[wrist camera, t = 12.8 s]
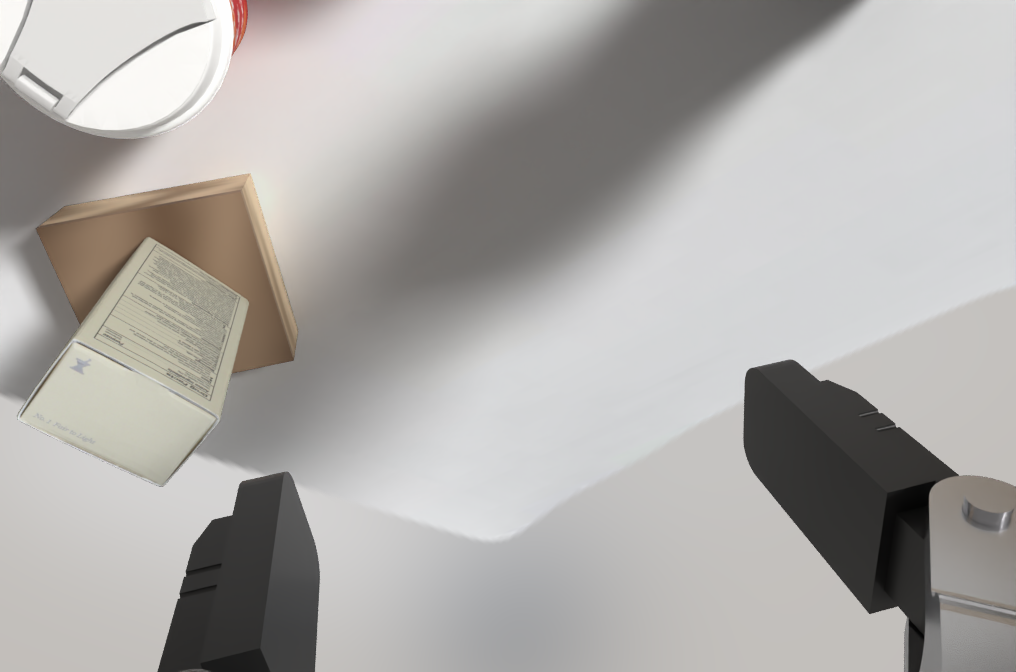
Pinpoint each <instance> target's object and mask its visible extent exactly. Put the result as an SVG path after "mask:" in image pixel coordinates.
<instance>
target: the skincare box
mask: <svg viewBox="0 0 1016 672" xmlns="http://www.w3.org/2000/svg"><path fill="white" fill-rule="evenodd" d="M248 306H249V302H248V300H247V299H246V298H244V297H243V296H241V295H240V294H238V293H237V292H235V291H234V290H232V289H231V288H229V287H228V286H226V285H225V284H223V283H222V282H220V281H219V280H217V279H216V278H214V277H213V276H211V275H209V274H208V273H206V272H205V271H203V270H202V269H200V268H199V267H197V266H195V265H194V264H192V263H191V262H189V261H188V260H186V259H185V258H183V257H181V256H180V255H178V254H177V253H175V252H174V251H172V250H170V249H169V248H167V247H165V246H164V245H162V244H160V243H159V242H157V241H155V240H154V239H152V238H150V237H147V238H145V239H144V241H143V242H142V243H141V244H140V246H139V247H138V248H137V249H136V251H135V252H134V253H133V255H132V256H131V257H130V258H129V260H128V261H127V262H126V264H125V265H124V266H123V268H122V269H121V270H120V272H119V273H118V274H117V276H116V277H115V278H114V280H113V281H112V282H111V284H110V285H109V286H108V288H107V289H106V290H105V292H104V293H103V295H102V296H101V297H100V299H99V300H98V302H97V303H96V304H95V306H94V307H93V308H92V310H91V311H90V312H89V314H88V315H87V316H86V318H85V319H84V320H83V322H82V323H81V325H80V326H79V327H78V329H77V330H76V332H75V333H74V334H73V336H72V337H71V338H70V340H69V341H68V343H67V344H66V345H65V347H64V348H63V350H62V351H61V352H60V354H59V355H58V357H57V358H56V359H55V361H54V362H53V364H52V365H51V366H50V368H49V369H48V371H47V372H46V373H45V375H44V376H43V378H42V379H41V380H40V382H39V383H38V385H37V386H36V387H35V389H34V390H33V392H32V393H31V395H30V396H29V398H28V399H27V401H26V402H25V404H24V405H23V407H22V408H21V410H20V411H19V413H18V415H17V419H18V420H19V421H21V422H22V423H24V424H27V425H29V426H31V427H32V428H34V429H36V430H38V431H40V432H42V433H44V434H46V435H48V436H50V437H52V438H55V439H57V440H59V441H61V442H63V443H65V444H67V445H69V446H71V447H73V448H75V449H78V450H80V451H82V452H84V453H86V454H88V455H91V456H93V457H95V458H97V459H99V460H101V461H103V462H106V463H108V464H110V465H112V466H114V467H117V468H119V469H121V470H123V471H126V472H128V473H130V474H132V475H134V476H136V477H139V478H141V479H143V480H145V481H148V482H150V483H152V484H155V485H156V486H159V487H163V486H164V485H165V484H166V483H167V482H168V481H169V480H170V479H171V478H172V476H173V475H174V474H175V473H176V472H177V471H178V470H179V469H180V467H181V466H182V465H183V464H184V463H185V462H186V461H187V460H188V458H189V457H190V456H191V455H192V454H193V453H194V451H195V450H196V449H197V448H198V447H199V446H200V445H201V443H202V442H203V441H204V440H205V439H206V437H207V436H208V435H209V434H210V433H211V431H212V430H213V429H214V428H215V427H216V425H217V424H218V423H219V421H220V418H221V414H222V409H223V405H224V401H225V397H226V393H227V389H228V385H229V381H230V377H231V373H232V369H233V365H234V361H235V357H236V353H237V349H238V345H239V341H240V337H241V334H242V330H243V325H244V322H245V318H246V314H247V310H248Z"/></svg>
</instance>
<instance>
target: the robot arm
mask: <svg viewBox="0 0 1016 672" xmlns="http://www.w3.org/2000/svg"><path fill="white" fill-rule="evenodd" d="M744 449H745V453H746V457H747V460H748V462H749V465H750V467H751V469H752V470H753V472H754V474H755V475H756V476H757V477H758V479H759V480H760V481H761V482H762V483H763V485H764V486H765V487H766V488H767V489H768V491H769V492H770V493H771V494H772V496H773V497H774V498H775V499H776V501H777V502H778V503H779V504H780V505H781V507H782V508H783V509H784V510H785V512H786V513H787V514H788V515H789V516H790V518H791V519H792V520H793V521H794V523H795V524H796V525H797V526H798V527H799V529H800V530H801V531H802V532H803V533H804V535H805V536H806V537H807V538H808V540H809V541H810V542H811V543H812V544H813V546H814V547H815V548H816V549H817V551H818V552H819V553H820V554H821V555H822V557H823V558H824V559H825V560H826V561H827V563H828V564H829V565H830V566H831V568H832V569H833V570H834V571H835V572H836V574H837V575H838V576H839V577H840V579H841V580H842V581H843V582H844V583H845V585H846V586H847V587H848V588H849V589H850V591H851V592H852V593H853V594H854V596H855V597H856V598H857V599H858V600H859V602H860V603H861V604H862V605H863V607H864V608H865V609H866V610H867V611H868V613H869V614H871V613H875V612H879V611H882V610H886V609H890V608H894V607H897V606H898V607H899V608H900V609H901V610H902V611H903V612H904V613H905V615H906V616H907V621H906V626H905V635H904V636H905V637H904V672H1016V487H1015V486H1013V485H1011V484H1008V483H1006V482H1003V481H1000V480H996V479H992V478H988V477H982V476H970V475H968V476H967V475H963V476H959V475H958V474H957V473H956V472H954V471H953V470H952V469H950V468H949V467H948V466H947V465H946V464H944V463H943V462H942V461H941V460H939V459H938V458H937V457H936V456H935V455H933V454H932V453H931V452H930V451H928V450H927V449H926V448H925V447H923V446H922V445H921V444H920V443H919V442H917V441H916V440H915V439H914V438H912V437H911V436H910V435H909V434H907V433H906V432H905V431H904V430H902V429H901V428H900V427H898V428H896V426H895V423H894V422H893V421H891V420H890V419H889V418H888V417H886V416H885V415H884V414H883V413H878V409H877V408H875V407H874V406H873V405H872V404H870V403H869V402H868V401H867V400H866V399H864V398H863V397H862V396H861V395H859V394H858V393H857V392H855V391H852V390H850V389H848V388H845V387H843V386H841V385H838V384H836V383H833V382H831V381H829V380H825V381H821V382H820V381H819V380H817V379H816V378H815V377H814V376H813V375H811V374H810V373H809V372H808V371H807V370H806V369H805V368H803V367H802V366H801V365H800V364H799V363H797V362H796V361H794V360H786V361H781V362H777V363H772V364H768V365H763V366H759V367H755V368H750V369H749V370H748V371H747V373H746V377H745V397H744ZM319 583H320V571H319V561H318V555H317V550H316V546H315V542H314V539H313V536H312V533H311V530H310V527H309V524H308V521H307V519H306V516H305V513H304V510H303V507H302V504H301V501H300V498H299V495H298V492H297V489H296V487H295V484H294V481H293V479H292V476H291V475H290V473H289V472H282V473H278V474H273V475H269V476H264V477H260V478H255V479H251V480H246V481H242V482H241V483H240V485H239V489H238V493H237V497H236V502H235V507H234V511H233V515H232V516H227V517H223V518H219V519H214V520H212V521H211V523H210V524H209V525H208V527H207V528H206V529H205V531H204V532H203V533H202V534H201V536H200V537H199V538H198V540H197V541H196V542H195V544H194V545H193V547H192V551H191V554H190V558H189V561H188V565H187V569H186V577H184V579H183V583H182V586H181V590H180V599H178V601H177V604H176V608H175V611H174V615H173V619H172V623H171V626H170V629H169V633H168V636H167V640H166V644H165V647H164V651H163V655H162V658H161V661H160V665H159V669H158V672H315V658H316V640H317V621H318V601H319Z"/></svg>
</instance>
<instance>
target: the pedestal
mask: <svg viewBox="0 0 1016 672" xmlns="http://www.w3.org/2000/svg"><path fill="white" fill-rule="evenodd" d="M36 230H37V232H38V235H39V237H40V239H41V241H42V243H43V245H44V248H45V250H46V252H47V254H48V256H49V258H50V261H51V263H52V265H53V267H54V269H55V271H56V274H57V276H58V278H59V280H60V282H61V284H62V287H63V289H64V291H65V293H66V295H67V297H68V300H69V302H70V304H71V306H72V308H73V310H74V313H75V315H76V317H77V319H78V321H79V323H80V325H81V323H82V322H83V320H84V319H85V318H86V316H87V315H88V314H89V312H90V311H91V310H92V308H93V307H94V306H95V304H96V303H97V302H98V300H99V299H100V297H101V296H102V295H103V293H104V292H105V290H106V289H107V288H108V286H109V285H110V284H111V282H112V281H113V280H114V278H115V277H116V276H117V274H118V273H119V272H120V270H121V269H122V268H123V266H124V265H125V264H126V262H127V261H128V260H129V258H130V257H131V256H132V255H133V253H134V252H135V251H136V249H137V248H138V247H139V246H140V244H141V243H142V242H143V241H144V239H145V238H147V237H150V238H152V239H154V240H155V241H157V242H159V243H160V244H162V245H164V246H165V247H167V248H169V249H170V250H172V251H174V252H175V253H177V254H178V255H180V256H181V257H183V258H185V259H186V260H188V261H189V262H191V263H192V264H194V265H195V266H197V267H199V268H200V269H202V270H203V271H205V272H206V273H208V274H209V275H211V276H213V277H214V278H216V279H217V280H219V281H220V282H222V283H223V284H225V285H226V286H228V287H229V288H231V289H232V290H234V291H235V292H237V293H238V294H240V295H241V296H243V297H244V298H246V299H247V300H248V302H249V306H248V310H247V314H246V318H245V322H244V325H243V330H242V334H241V337H240V341H239V345H238V349H237V353H236V357H235V361H234V365H233V369H232V373H236V372H241V371H246V370H250V369H255V368H260V367H265V366H270V365H274V364H279V363H284V362H289V361H294V355H295V348H296V341H297V335H298V329H297V325H296V322H295V319H294V316H293V312H292V309H291V306H290V302H289V299H288V296H287V292H286V289H285V286H284V283H283V279H282V276H281V273H280V269H279V266H278V263H277V260H276V256H275V253H274V250H273V246H272V243H271V240H270V237H269V233H268V230H267V227H266V223H265V220H264V217H263V213H262V210H261V207H260V204H259V200H258V197H257V194H256V190H255V187H254V184H253V181H252V177H251V174H245V175H239V176H233V177H228V178H222V179H217V180H211V181H205V182H200V183H194V184H188V185H183V186H177V187H172V188H166V189H160V190H155V191H149V192H143V193H138V194H132V195H127V196H121V197H115V198H110V199H104V200H98V201H93V202H87V203H82V204H76V205H70V206H65V207H63V208H62V209H61V210H59V211H58V212H57V213H55V214H54V215H53V216H52V217H50V218H49V219H48V220H47V221H45V222H44V223H43V224H41V225H40V226H39V227H38V228H36Z"/></svg>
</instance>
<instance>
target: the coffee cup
mask: <svg viewBox="0 0 1016 672" xmlns="http://www.w3.org/2000/svg"><path fill="white" fill-rule="evenodd" d="M247 17H248V10H247V1H246V0H0V76H1V78H2V79H3V80H4V81H5V82H6V83H7V84H8V85H9V86H10V87H11V88H12V89H13V90H14V91H15V92H16V93H17V94H18V95H19V96H21V97H22V98H23V99H24V100H26V101H27V102H28V103H29V104H31V105H32V106H33V107H34V108H36V109H37V110H39V111H40V112H42V113H44V114H45V115H47V116H49V117H50V118H52V119H53V120H55V121H57V122H60V123H62V124H64V125H66V126H68V127H71V128H73V129H75V130H79V131H82V132H85V133H88V134H92V135H95V136H101V137H108V138H114V139H138V138H146V137H153V136H156V135H160V134H163V133H166V132H169V131H172V130H174V129H176V128H178V127H180V126H182V125H184V124H186V123H187V122H189V121H190V120H191V119H193V118H194V117H195V116H197V115H198V114H199V113H201V111H202V110H203V109H204V108H205V107H206V106H207V105H208V104H209V103H210V102H211V101H212V100H213V98H214V96H215V95H216V93H217V92H218V90H219V89H220V87H221V85H222V83H223V81H224V78H225V76H226V73H227V71H228V69H229V64H230V60H231V57H232V55H233V54H234V52H235V51H236V49H237V48H238V46H239V44H240V42H241V40H242V38H243V36H244V33H245V29H246V25H247Z"/></svg>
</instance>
